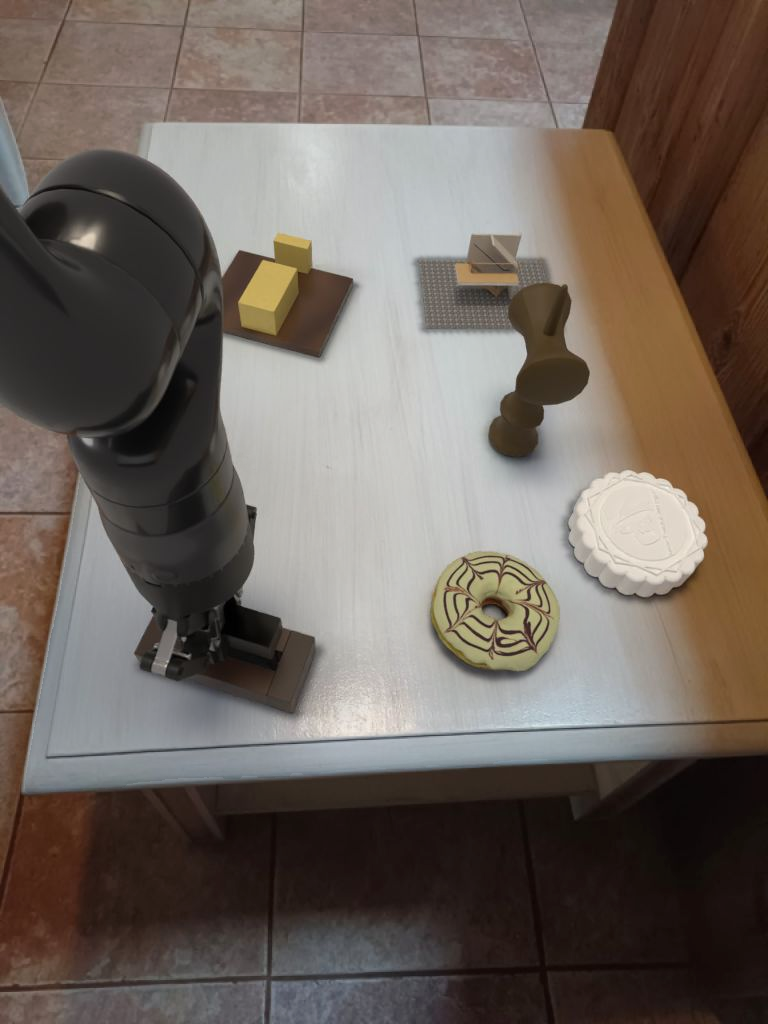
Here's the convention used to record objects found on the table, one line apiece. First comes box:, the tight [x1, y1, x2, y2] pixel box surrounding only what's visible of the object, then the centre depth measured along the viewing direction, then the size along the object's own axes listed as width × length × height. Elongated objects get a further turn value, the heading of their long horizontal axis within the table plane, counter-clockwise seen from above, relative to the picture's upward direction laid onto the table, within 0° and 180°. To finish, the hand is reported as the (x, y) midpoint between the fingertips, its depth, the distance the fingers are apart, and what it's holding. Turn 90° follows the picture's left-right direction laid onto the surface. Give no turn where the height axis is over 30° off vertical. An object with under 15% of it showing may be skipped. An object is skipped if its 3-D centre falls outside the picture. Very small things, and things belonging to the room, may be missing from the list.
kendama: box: [488, 282, 591, 458], centre depth 65 cm, size 6×10×20 cm, turn 1°
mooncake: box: [568, 469, 709, 598], centre depth 66 cm, size 12×12×4 cm
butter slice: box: [272, 232, 313, 274], centre depth 82 cm, size 4×2×4 cm, turn 74°
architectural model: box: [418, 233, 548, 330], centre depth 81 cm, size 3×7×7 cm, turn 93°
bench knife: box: [150, 601, 284, 671], centre depth 55 cm, size 9×2×8 cm, turn 73°
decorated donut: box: [430, 550, 561, 672], centre depth 61 cm, size 10×11×4 cm
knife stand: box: [133, 615, 317, 714], centre depth 59 cm, size 13×6×3 cm, turn 74°
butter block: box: [238, 260, 299, 336], centre depth 78 cm, size 4×7×4 cm, turn 164°
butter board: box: [222, 249, 354, 358], centre depth 81 cm, size 14×12×1 cm
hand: (221, 635), depth 55 cm, fingers closed on bench knife, 2 cm apart
